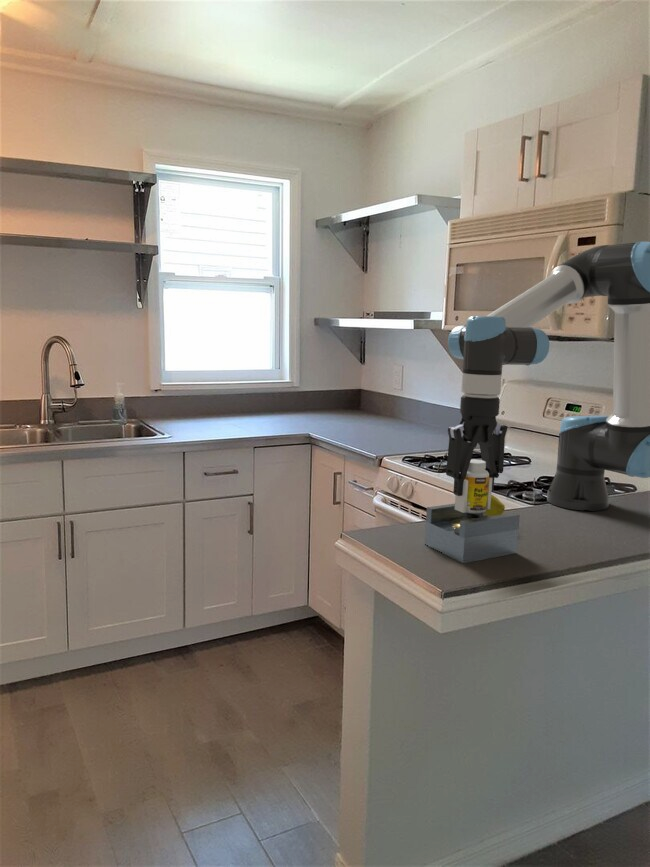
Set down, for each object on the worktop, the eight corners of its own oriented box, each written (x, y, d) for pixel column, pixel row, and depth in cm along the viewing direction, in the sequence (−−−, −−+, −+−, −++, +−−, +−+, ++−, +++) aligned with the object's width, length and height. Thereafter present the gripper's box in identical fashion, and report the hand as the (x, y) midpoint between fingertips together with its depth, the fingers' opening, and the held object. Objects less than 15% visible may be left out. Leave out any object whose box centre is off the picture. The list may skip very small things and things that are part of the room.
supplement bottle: (472, 515, 133) (475, 465, 131) (452, 508, 138) (455, 459, 136) (492, 512, 136) (495, 462, 134) (472, 505, 141) (475, 457, 139)
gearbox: (476, 535, 147) (479, 500, 145) (516, 553, 136) (519, 514, 135) (424, 544, 140) (426, 507, 139) (462, 563, 130) (465, 523, 128)
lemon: (449, 522, 156) (451, 489, 155) (468, 516, 161) (471, 484, 160) (489, 534, 148) (492, 498, 147) (508, 527, 154) (511, 493, 152)
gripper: (502, 392, 141) (494, 500, 145) (430, 394, 132) (424, 509, 136) (529, 396, 134) (519, 509, 138) (455, 398, 125) (448, 519, 129)
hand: (472, 509), depth 137 cm, fingers closed on supplement bottle, 6 cm apart
